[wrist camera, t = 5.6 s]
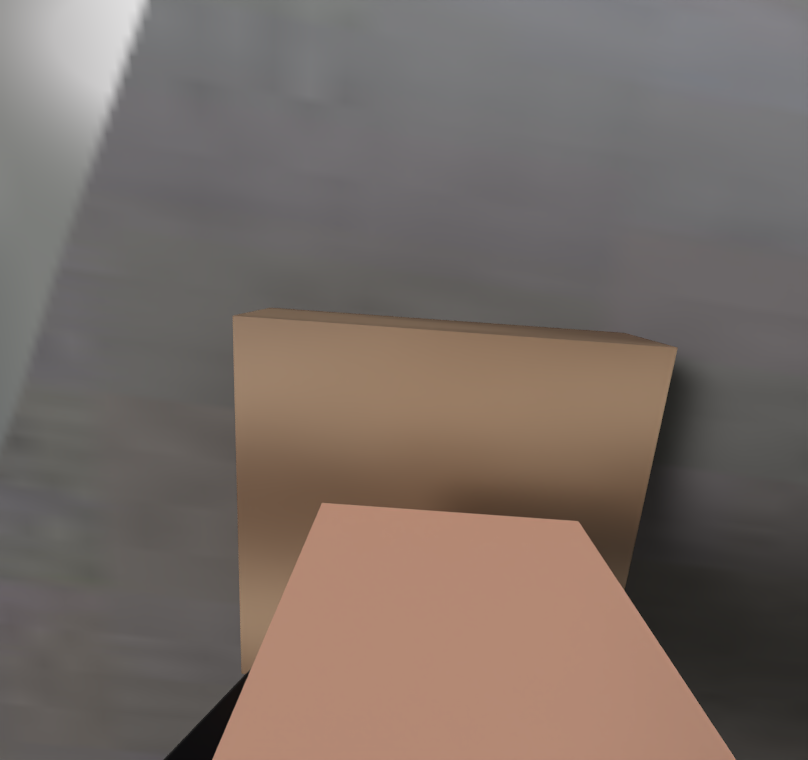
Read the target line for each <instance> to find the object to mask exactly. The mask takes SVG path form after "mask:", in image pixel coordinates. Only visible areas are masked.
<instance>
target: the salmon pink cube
mask: <svg viewBox="0 0 808 760" xmlns="http://www.w3.org/2000/svg"><path fill="white" fill-rule="evenodd" d="M212 760H736V759H735V757H734V756H733V754H732V753H731V751H730V750H729V748H728V747H727V745H726V744H725V742H724V741H723V739H722V738H721V736H720V735H719V733H718V732H717V730H716V729H715V727H714V726H713V724H712V723H711V721H710V720H709V718H708V717H707V715H706V714H705V712H704V711H703V709H702V707H701V706H700V704H699V703H698V701H697V700H696V698H695V697H694V695H693V694H692V692H691V691H690V689H689V688H688V686H687V685H686V683H685V682H684V680H683V679H682V677H681V676H680V674H679V673H678V671H677V670H676V668H675V667H674V665H673V664H672V662H671V661H670V659H669V658H668V656H667V654H666V653H665V651H664V650H663V648H662V647H661V645H660V644H659V642H658V641H657V639H656V638H655V636H654V635H653V633H652V632H651V630H650V629H649V627H648V626H647V624H646V623H645V621H644V620H643V618H642V617H641V615H640V614H639V612H638V611H637V609H636V608H635V606H634V605H633V603H632V602H631V600H630V598H629V597H628V595H627V594H626V592H625V591H624V589H623V588H622V586H621V585H620V583H619V582H618V580H617V579H616V577H615V576H614V574H613V573H612V571H611V570H610V568H609V567H608V565H607V564H606V562H605V561H604V559H603V558H602V556H601V555H600V553H599V552H598V550H597V549H596V547H595V545H594V544H593V542H592V541H591V539H590V538H589V536H588V535H587V533H586V532H585V530H584V529H583V527H582V526H581V524H580V523H579V521H570V520H556V519H542V518H528V517H514V516H500V515H486V514H472V513H458V512H444V511H430V510H416V509H402V508H388V507H374V506H360V505H346V504H332V503H322V504H321V506H320V509H319V511H318V513H317V516H316V518H315V520H314V523H313V525H312V527H311V530H310V532H309V534H308V537H307V539H306V541H305V544H304V546H303V548H302V551H301V553H300V555H299V558H298V560H297V562H296V565H295V567H294V569H293V572H292V574H291V576H290V579H289V581H288V583H287V586H286V588H285V590H284V593H283V595H282V598H281V600H280V602H279V605H278V607H277V609H276V612H275V614H274V616H273V619H272V621H271V623H270V626H269V628H268V630H267V633H266V635H265V637H264V640H263V642H262V644H261V647H260V649H259V651H258V654H257V656H256V658H255V661H254V663H253V665H252V668H251V670H250V672H249V675H248V677H247V679H246V682H245V684H244V686H243V689H242V691H241V694H240V696H239V698H238V701H237V703H236V705H235V708H234V710H233V712H232V715H231V717H230V719H229V722H228V724H227V726H226V729H225V731H224V733H223V736H222V738H221V740H220V743H219V745H218V747H217V750H216V752H215V754H214V757H213V759H212Z"/></svg>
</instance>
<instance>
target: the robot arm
mask: <svg viewBox="0 0 808 760" xmlns="http://www.w3.org/2000/svg"><path fill="white" fill-rule="evenodd" d="M250 670H251V669H250ZM250 670H249V671H248V672H247V673H246V674H245V675H244V676H243V677H242V678H241V680H240V681H239V682H238V683H237V684H236V685H235V686H234V687H233V688H232V689H231V690H230V691H229V692H228V693H227V694H226V695H225V696H224V697H223V698H222V699H221V700H220V701H219V702H218V704H217V705H216V706H215V707H214V708H213V709H212V710H211V711H210V712H209V713H208V714H207V715H206V716H205V717H204V718H203V719H202V720H201V721H200V722H199V723H198V724H197V725H196V727H195V728H194V729H193V730H192V731H191V732H190V733H189V734H188V735H187V736H186V737H185V738H184V739H183V740H182V741H181V742H180V743H179V744H178V745H177V746H176V747H175V748H174V749H173V751H172V752H171V753H170V754H169V755H168V756H167V757H166V758H165V759H164V760H212V759H213V757H214V754H215V752H216V750H217V747H218V745H219V743H220V740H221V738H222V736H223V733H224V731H225V729H226V726H227V724H228V722H229V719H230V717H231V715H232V712H233V710H234V708H235V705H236V703H237V701H238V698H239V696H240V694H241V691H242V689H243V686H244V684H245V682H246V679H247V677H248V675H249V672H250Z"/></svg>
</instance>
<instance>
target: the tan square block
mask: <svg viewBox="0 0 808 760" xmlns="http://www.w3.org/2000/svg"><path fill="white" fill-rule="evenodd" d="M233 348H234V389H235V429H236V469H237V509H238V549H239V589H240V629H241V669H242V674H246V673H247V672H248V671H249V670H250V669H251V668H252V665H253V663H254V661H255V658H256V656H257V654H258V651H259V649H260V647H261V644H262V642H263V640H264V637H265V635H266V633H267V630H268V628H269V626H270V623H271V621H272V619H273V616H274V614H275V612H276V609H277V607H278V605H279V602H280V600H281V598H282V595H283V593H284V590H285V588H286V586H287V583H288V581H289V579H290V576H291V574H292V572H293V569H294V567H295V565H296V562H297V560H298V558H299V555H300V553H301V551H302V548H303V546H304V544H305V541H306V539H307V537H308V534H309V532H310V530H311V527H312V525H313V523H314V520H315V518H316V516H317V513H318V511H319V509H320V506H321V504H322V503H332V504H346V505H360V506H374V507H388V508H402V509H416V510H430V511H444V512H458V513H472V514H486V515H500V516H514V517H528V518H542V519H556V520H570V521H579V523H580V524H581V526H582V527H583V529H584V530H585V532H586V533H587V535H588V536H589V538H590V539H591V541H592V542H593V544H594V545H595V547H596V549H597V550H598V552H599V553H600V555H601V556H602V558H603V559H604V561H605V562H606V564H607V565H608V567H609V568H610V570H611V571H612V573H613V574H614V576H615V577H616V579H617V580H618V582H619V583H620V585H621V586H622V588H623V589H624V591H625V586H626V582H627V577H628V572H629V568H630V563H631V559H632V554H633V550H634V545H635V540H636V536H637V531H638V527H639V522H640V518H641V513H642V508H643V504H644V499H645V495H646V490H647V486H648V481H649V476H650V472H651V467H652V463H653V458H654V454H655V449H656V444H657V440H658V435H659V431H660V426H661V422H662V417H663V412H664V408H665V403H666V399H667V394H668V389H669V385H670V380H671V376H672V371H673V367H674V362H675V357H676V353H677V347H673V346H669V345H666V344H662V343H659V342H655V341H651V340H648V339H644V338H641V337H637V336H633V335H630V334H626V333H618V332H604V331H589V330H575V329H561V328H547V327H533V326H519V325H505V324H491V323H477V322H463V321H449V320H435V319H421V318H407V317H393V316H379V315H365V314H351V313H337V312H323V311H309V310H295V309H281V308H267V309H262V310H258V311H253V312H248V313H243V314H239V315H234V316H233Z"/></svg>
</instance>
